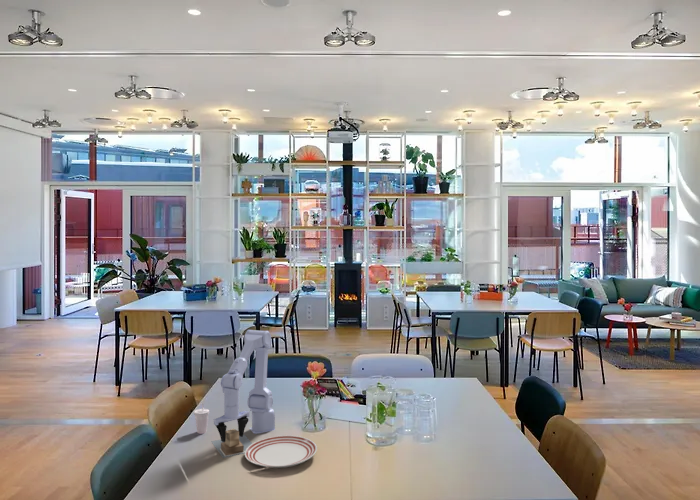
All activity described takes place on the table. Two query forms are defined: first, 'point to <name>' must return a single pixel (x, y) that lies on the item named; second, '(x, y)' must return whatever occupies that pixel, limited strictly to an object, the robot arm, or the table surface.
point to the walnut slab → (232, 448)
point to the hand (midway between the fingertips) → (232, 438)
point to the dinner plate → (280, 451)
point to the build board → (246, 443)
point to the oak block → (232, 437)
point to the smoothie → (201, 419)
